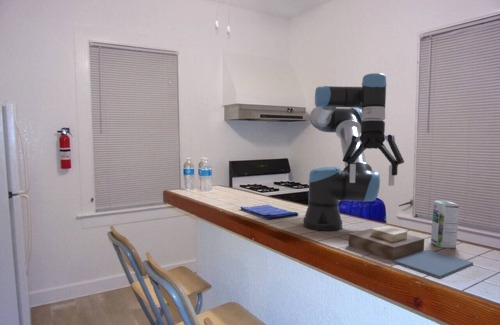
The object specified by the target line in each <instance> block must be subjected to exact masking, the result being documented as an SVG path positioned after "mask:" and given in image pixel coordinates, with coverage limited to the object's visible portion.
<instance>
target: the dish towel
mask: <svg viewBox="0 0 500 325" xmlns="http://www.w3.org/2000/svg"><path fill="white" fill-rule="evenodd" d="M240 211H242V212H246V213H249V214H251V215H253V216H255V217H258V218H262V219H264V220H276V219H283V218H291V217H292V218H293V217H298V216H299V213H298V212H296V211H290V210H286V209H283V208H279V207H275V206H272V205H270V204H263V205H262V204H261V205H254V206H240Z"/></svg>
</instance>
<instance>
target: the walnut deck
mask: <svg viewBox="0 0 500 325" xmlns="http://www.w3.org/2000/svg"><path fill="white" fill-rule="evenodd" d="M371 229H372V228H368V229H365V230H359V231H355V232H349V233H348V247H350V248H355V249H358V250H360V251H363V252H366V253H369V254H372V255H374V256H377V257H381V258H384V259H386V260H389V261H392V262H393V260H395V259H398V258H401V257H404V256H408V255H411V254H414V253H417V252H420V251H424V250H425V238H424V237H419V236H415V235H411V234H408V233H407V239H403V240H399V241H396V242H392V241H389V240H385V239H382V238H378V237H375V236H371Z"/></svg>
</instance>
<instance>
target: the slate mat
mask: <svg viewBox="0 0 500 325" xmlns="http://www.w3.org/2000/svg"><path fill="white" fill-rule="evenodd" d="M392 263H395V264H397V265H400V266H403V267H405V268H409V269H411V270H415V271H416V272H421V273H423V274H427V275H430V276H432V277H435V278H438V279H441V278H445V277H446V276H449V275H451V274H453V273H456V272H458V271H460V270H464V269H465V268H469V267H470V266H473V265H474V262H473V261H469V260H466V259H463V258H460V257H459V258H458V257H455V256H452V255H447V254H444V253H442V252H438V251H434V250H431V249H424V251H420V252H417V253H414V254H411V255H408V256H404V257H401V258H398V259H395V260H393V261H392Z"/></svg>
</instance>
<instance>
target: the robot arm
mask: <svg viewBox="0 0 500 325" xmlns="http://www.w3.org/2000/svg"><path fill="white" fill-rule="evenodd" d="M361 81H362V83H361V86H332V85H331V86H329V85H323V86H318V87H315V92H314V105H315V107H314V108H313V109H312V110H311V112H310V114H309V121H310V124H311V125H312V127H314V128H315V129H317V130H318V131H321V132H324V133H335V135H336V136H337V137H338V138H339V139H340V145H341V151H342V157H343V158H342V161H343V163H344V168H343V169H342V170H341V168H340V167H339V166H324V167H317V168H313V169H312V170H310V172H309V176H308V177H309V179H308V183H309V184H308V203H307V205H308V206H307V209H306V211H305V216H304V217H303V220H302V223H303V224H302V225H303V227H305V228H307V229H312V230H314V231H324V232H325V231H326V232H329V231H330V232H331V231H334V232H335V231H339V230H342V228H343V220H342V217H341V212H340V209H339V205H340V204H339V201H345V202H346V201H351V202H353V201H354V202H365V203H366V202H373V201H375V200H376V199H377V198H378V195H379V191H380V187H381V186H380V183H381V178H380V172H378V171H376V170H374V171H373V168H372V166H371V165H370V163H367V160H366V159H367V158H366V156H365V152H364V151H366V150H367V149H369V150H370V149H376V150H377V149H378V150H379V151H380V152H381V153H382V154H383V155H384V156H385V159H387V161H388V162H389V163H390V165H388V187H391V186H395V176H397V175H398V167H399V165H401V164H404V163H405V160H404V158H403V156H402V153H401V152H400V150H399V148H398V145H397V143H396V140H395V139H396V138H395V135H394V134H387V135H385V132H386V131H385V130H386V129H385V126H386V122H385V119H386V101H387V100H386V98H387V96H386V95H387V85H388V84H387V77H386V75H385V74H384V73H380V72H379V73H378V72H377V73H374V72H373V73H367V74H364V76H363V77H362V80H361ZM385 141H386V142H387V143H388V146H389V147H390V149H391V152H392V153H391V152H390V150H389V149H388V148H387V146H386V145H385V144H384V142H385ZM393 155H394V156H393Z"/></svg>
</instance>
